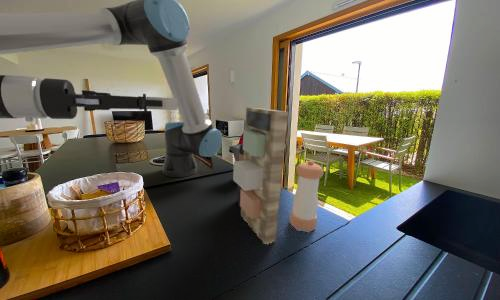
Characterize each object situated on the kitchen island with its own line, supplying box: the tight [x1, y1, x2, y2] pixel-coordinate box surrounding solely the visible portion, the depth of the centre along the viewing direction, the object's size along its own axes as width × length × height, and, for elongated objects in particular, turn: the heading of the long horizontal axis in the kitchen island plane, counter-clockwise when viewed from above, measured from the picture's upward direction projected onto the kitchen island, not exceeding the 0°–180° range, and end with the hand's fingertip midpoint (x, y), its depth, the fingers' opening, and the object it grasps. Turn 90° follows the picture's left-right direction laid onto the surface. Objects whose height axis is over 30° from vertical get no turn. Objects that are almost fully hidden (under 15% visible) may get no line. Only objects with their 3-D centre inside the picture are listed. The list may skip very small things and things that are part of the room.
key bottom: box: [239, 189, 261, 219], centre depth 54 cm, size 7×5×5 cm
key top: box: [242, 129, 266, 157], centre depth 50 cm, size 7×5×5 cm
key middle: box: [232, 160, 264, 191], centre depth 51 cm, size 7×5×5 cm
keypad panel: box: [240, 107, 289, 245], centre depth 52 cm, size 14×4×32 cm, turn 27°
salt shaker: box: [289, 160, 324, 231], centre depth 56 cm, size 7×7×19 cm
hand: (176, 104), depth 49 cm, fingers closed
